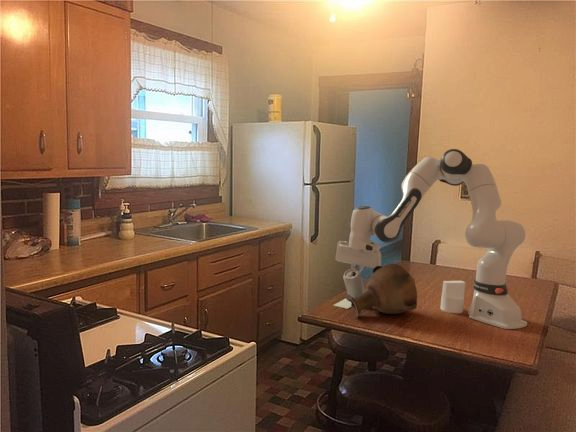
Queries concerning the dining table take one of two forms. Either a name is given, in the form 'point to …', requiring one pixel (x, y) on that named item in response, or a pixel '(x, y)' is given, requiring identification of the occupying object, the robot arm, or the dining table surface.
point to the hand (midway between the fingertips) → (356, 274)
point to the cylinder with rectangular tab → (453, 296)
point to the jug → (387, 291)
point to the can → (353, 283)
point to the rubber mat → (343, 304)
